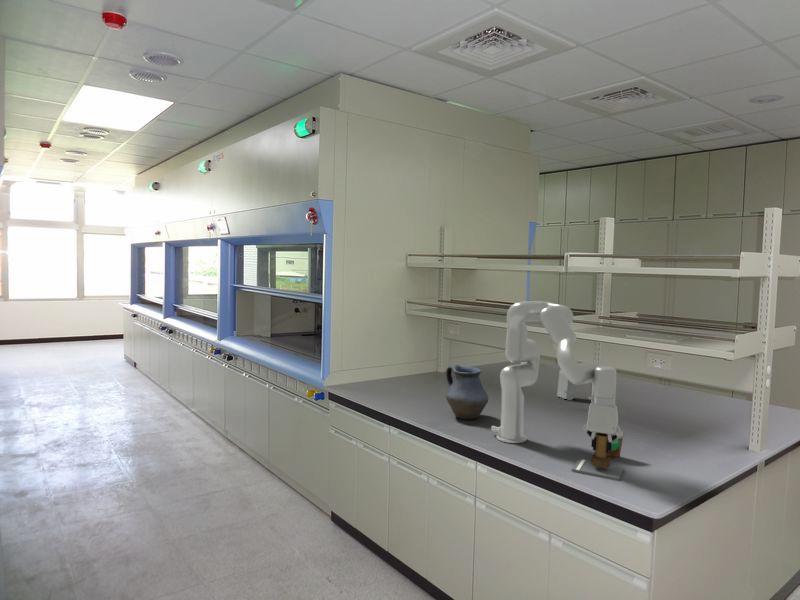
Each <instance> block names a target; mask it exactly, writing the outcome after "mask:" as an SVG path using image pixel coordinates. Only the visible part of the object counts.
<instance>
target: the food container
mask: <svg viewBox="0 0 800 600" xmlns="http://www.w3.org/2000/svg"><path fill="white" fill-rule="evenodd" d="M596 433H597V432H596ZM617 433H618V432H616V434H617ZM622 433H623V435H622V436H621V437H618V438H616V439H615V440H613V441H612V449H611V450H610V451H609V453H607V457H608V458H609V459H617V458H620V457H621V451H622V445H623V439H624V438H626V436H625V432H624V431H622ZM607 435H608V434H607Z"/></svg>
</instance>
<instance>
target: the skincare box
mask: <svg viewBox="0 0 800 600" xmlns="http://www.w3.org/2000/svg"><path fill="white" fill-rule="evenodd" d="M558 373H559V374H558V382H557V383H558V384H557V389H556V390H557V393H556V397H557V396H559V397H562V398H565V399H572V398H575V399H576V390H577V385H576V384H573V383H571V382H570V381H569V380H568V379H567V378H566V376H565V375H564V373H563V372H562V370H561V369H560V370H559V372H558Z"/></svg>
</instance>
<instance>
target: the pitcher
mask: <svg viewBox="0 0 800 600" xmlns="http://www.w3.org/2000/svg"><path fill="white" fill-rule="evenodd" d="M452 371H453V373H454V378H453V376H452V375H453V374H452ZM481 372H482V370H481V369H479V368H478V367H473V366H461V365H459V364H456V363H453V364H450V365H448V366H447V368H446V369H445V377H446V381H447V384H448V390H447V392H446V394H445V399H446V401H447V403H448V404H449V406H450V408H451V410H452V413H453V414H454V416H455V417H456V418H458V419H461V420H465V421H466V420H467V421H468V420H469V421H472V420H475V419H477V418H478V417H479V416H480V415H481V414H482V413H483V410H484V409H485V408H486V406H487V405H488V402H489V395H488V394H487V392H486V390H485V389H484V387H483V385H482V382H481V379H480V375H481Z"/></svg>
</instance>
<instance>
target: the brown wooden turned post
mask: <svg viewBox="0 0 800 600" xmlns="http://www.w3.org/2000/svg"><path fill="white" fill-rule="evenodd" d="M607 441H608V435H607V434H603V433H596V450H595V451H594V454H593V455H592V456H591V458H590V459H591V460H590V461H591V464H592V465H594V466H596V467H601V468H607V467H610V465H611V458H608V457H607V452H606V448H607Z"/></svg>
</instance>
